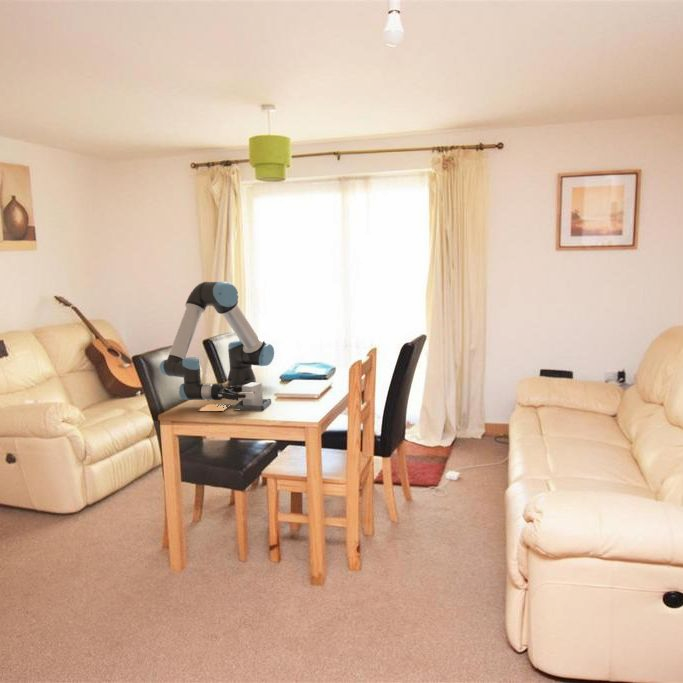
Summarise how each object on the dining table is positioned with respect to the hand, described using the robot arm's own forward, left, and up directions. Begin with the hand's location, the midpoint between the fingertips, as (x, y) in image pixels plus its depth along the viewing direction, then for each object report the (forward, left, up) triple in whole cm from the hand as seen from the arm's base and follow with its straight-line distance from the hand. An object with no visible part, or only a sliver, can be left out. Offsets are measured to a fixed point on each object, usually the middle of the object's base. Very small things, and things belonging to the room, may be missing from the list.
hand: (258, 391), depth 259 cm
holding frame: (0, -3, -7) cm, 8 cm away
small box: (0, -3, -7) cm, 8 cm away
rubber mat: (+3, -20, -7) cm, 21 cm away
